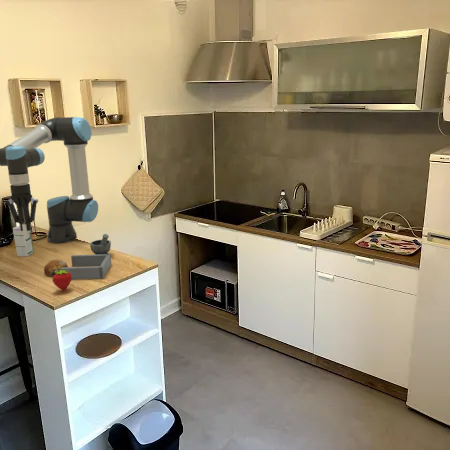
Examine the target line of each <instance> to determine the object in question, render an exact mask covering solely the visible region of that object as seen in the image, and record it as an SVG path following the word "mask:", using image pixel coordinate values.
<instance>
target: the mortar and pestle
mask: <svg viewBox="0 0 450 450" xmlns="http://www.w3.org/2000/svg"><path fill="white" fill-rule="evenodd" d="M111 244H112V241H111V240H109V234H107V233H103V234H102V239H95V240H93V241H91V242H90V244H89V245H90V250H91V252H92V253H93V254H94V255H98V254H109V252H110V250H111V246H112V245H111Z"/></svg>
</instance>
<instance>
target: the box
mask: <svg viewBox="0 0 450 450" xmlns="http://www.w3.org/2000/svg"><path fill="white" fill-rule="evenodd" d="M111 257H112V255H111V253H110V254H109V253H108V254H98V255H95V254H73V255H70V258H71V267H69V266H68V267H63V268H61V270H62V271H63V270H65V271H67V272H69V273H70V274H71V276H72V278H71V281H72V280H73V281H74V280H98V279H99V280H100V279H101V280H102V279H105V277H106V276H107V273H108V271H109V270H110V268H111V267H112V258H111Z"/></svg>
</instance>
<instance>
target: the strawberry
mask: <svg viewBox="0 0 450 450" xmlns="http://www.w3.org/2000/svg"><path fill="white" fill-rule="evenodd" d="M71 278H72V276H71V274H70V273H69V272H67V271H65V270H63V271H62V270H60V272H57V274H55V275H54V277H52V282H53V284H54V285H55V286H56V287H57V288H58V289H60V290H61V291H62V292H65V291H67V289H68V287H69V285H70V284H71V282H72V280H71Z"/></svg>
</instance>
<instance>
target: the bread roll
mask: <svg viewBox="0 0 450 450" xmlns="http://www.w3.org/2000/svg"><path fill="white" fill-rule="evenodd" d="M63 267H69V266H68V264H67V263H66V262H65V261H64V260H62V259H58V258H55V259H50V260H49V261H48V262H47V263H46V264H44V267H43V271H44V275H45V276H46V277H51V278H53V277H54V275H55V274H57V272H60V270H61V268H63Z"/></svg>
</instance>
